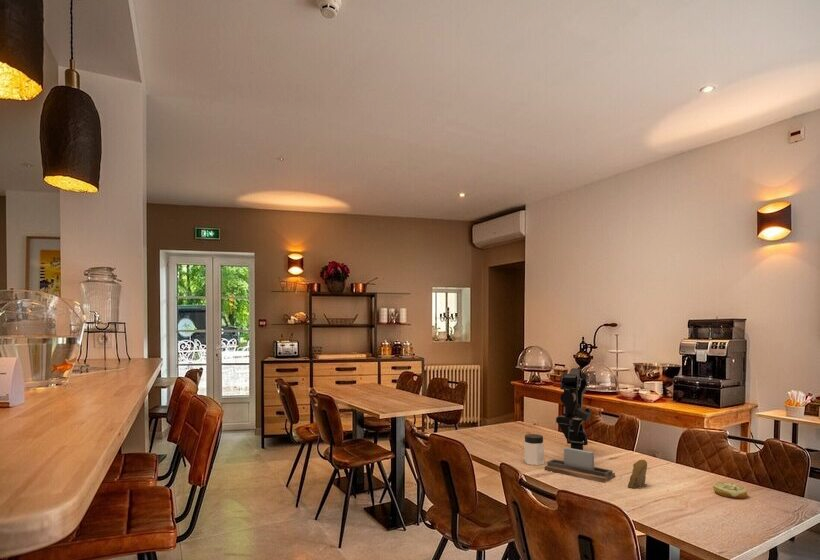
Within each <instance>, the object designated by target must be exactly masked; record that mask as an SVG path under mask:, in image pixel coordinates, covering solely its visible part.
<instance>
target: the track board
mask: <svg viewBox="0 0 820 560" xmlns="http://www.w3.org/2000/svg"><path fill="white" fill-rule="evenodd" d="M546 470H549V471H548V472H551V471H552V473H556V474H560V475H565V476H566V475H567V476H570V475H571V477H576V478H580V479H584V480H590V481H594V482H599V483H603V482H604V483H606V482H609V481H610V480H612V479H614V478H616V472H613V470H611V469H607V468H602V467H597V466H594V470H589V469H584V468H579V467H574V466H569V465H564V460H560V459H554V458H553V459H551V460H549V461H546V465H545V466H544V471H546ZM613 477H614V478H613Z"/></svg>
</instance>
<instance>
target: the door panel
mask: <svg viewBox="0 0 820 560" xmlns="http://www.w3.org/2000/svg"><path fill="white" fill-rule="evenodd" d="M563 455H564V456H563V458H564V459H563V461H564V465H569V466H574V467H579V468H584V469H589V470H594V467H595V452H594V451H590V450H585V449H583V450H578V449H573V448H571V447H565V448H563Z"/></svg>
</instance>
